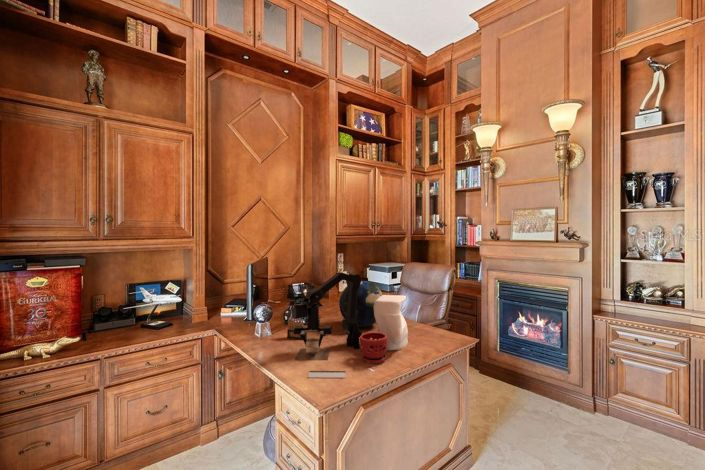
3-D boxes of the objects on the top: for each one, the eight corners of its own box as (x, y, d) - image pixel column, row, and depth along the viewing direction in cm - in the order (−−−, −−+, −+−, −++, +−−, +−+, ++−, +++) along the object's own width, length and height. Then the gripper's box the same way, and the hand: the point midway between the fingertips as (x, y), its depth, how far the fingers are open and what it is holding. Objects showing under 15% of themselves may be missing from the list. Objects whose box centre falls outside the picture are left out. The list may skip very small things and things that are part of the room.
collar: (319, 347, 168) (319, 338, 168) (318, 352, 162) (318, 342, 162) (308, 347, 168) (308, 338, 168) (306, 352, 162) (306, 342, 162)
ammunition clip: (287, 337, 193) (287, 317, 193) (288, 337, 195) (288, 316, 195) (303, 340, 190) (302, 319, 189) (304, 339, 191) (304, 318, 191)
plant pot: (383, 354, 167) (383, 330, 167) (390, 364, 154) (390, 339, 154) (357, 355, 165) (357, 332, 165) (362, 366, 152) (362, 340, 152)
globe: (332, 323, 224) (332, 279, 224) (371, 318, 237) (371, 276, 236) (350, 335, 197) (350, 285, 196) (393, 329, 209) (393, 282, 209)
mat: (346, 364, 154) (346, 364, 154) (345, 378, 140) (345, 377, 140) (312, 364, 154) (312, 363, 154) (307, 378, 140) (307, 377, 140)
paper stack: (413, 340, 188) (413, 295, 187) (400, 357, 163) (400, 305, 163) (378, 336, 196) (378, 293, 196) (361, 351, 171) (361, 302, 171)
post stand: (330, 350, 173) (330, 337, 173) (327, 362, 157) (327, 348, 157) (300, 350, 173) (300, 337, 173) (294, 362, 157) (294, 348, 157)
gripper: (332, 312, 173) (332, 341, 173) (297, 312, 173) (297, 341, 173) (331, 317, 162) (331, 349, 162) (293, 317, 162) (293, 349, 162)
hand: (313, 346), depth 165 cm, fingers closed on collar, 6 cm apart
